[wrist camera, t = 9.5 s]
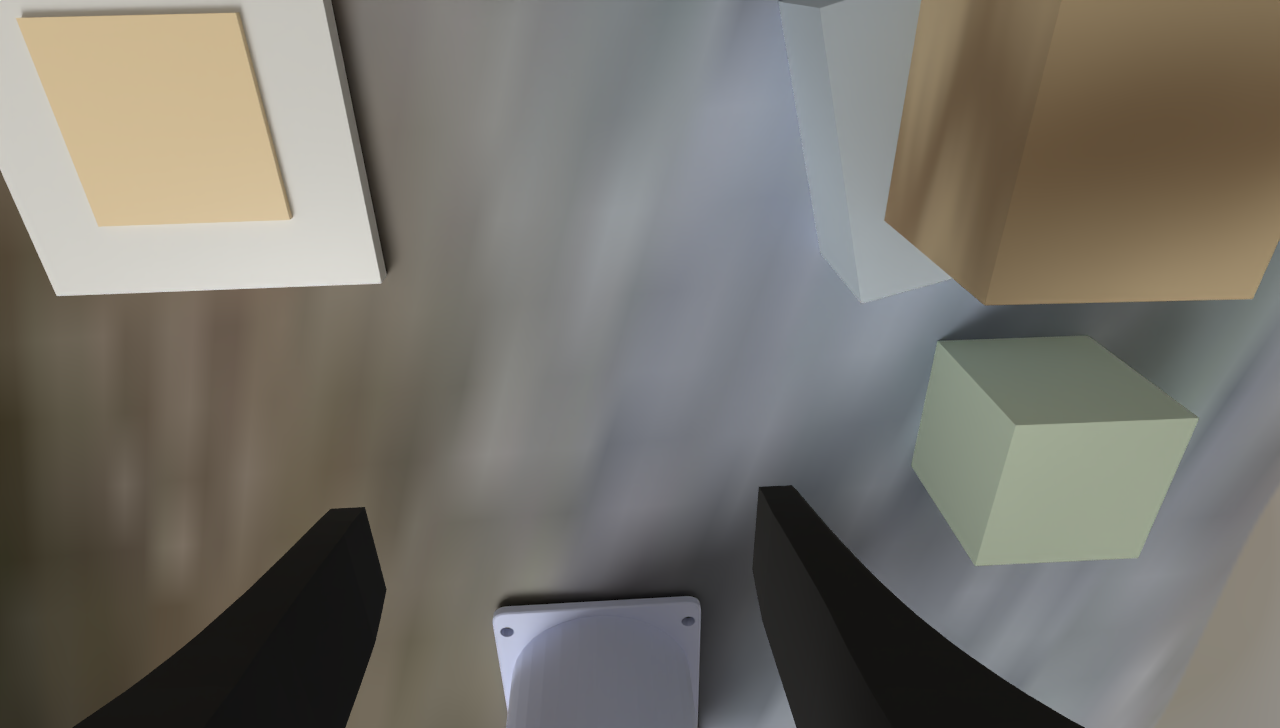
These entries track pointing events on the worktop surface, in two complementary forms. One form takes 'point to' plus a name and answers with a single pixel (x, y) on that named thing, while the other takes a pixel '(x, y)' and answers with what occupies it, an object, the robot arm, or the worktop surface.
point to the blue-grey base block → (855, 134)
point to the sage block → (1046, 449)
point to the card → (184, 145)
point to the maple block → (1092, 148)
